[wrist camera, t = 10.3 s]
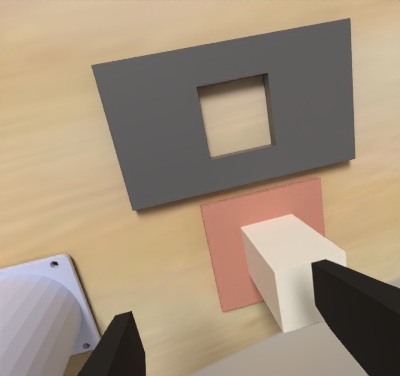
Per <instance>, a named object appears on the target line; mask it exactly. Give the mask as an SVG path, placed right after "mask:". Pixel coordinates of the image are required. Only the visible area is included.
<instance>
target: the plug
mask: <svg viewBox="0 0 400 376" xmlns="http://www.w3.org/2000/svg"><path fill="white" fill-rule="evenodd" d="M241 233H242V238H243V244H244V249H245V255H246V260H247V266H248V272H249V275H250V277H251V278H252V280H253V282H254V283H255V285H256V287H257V289H258V290H259V292H260V294H261V296H262V297H263V299H264V301H265V302H266V304H267V306H268V308H269V309H270V311H271V313H272V315H273V316H274V318H275V320H276V321H277V323H278V325H279V327H280V328H281V330H282V332H283V333H287V332H290V331H294V330H297V329H300V328H304V327H307V326H310V325H313V324H317V323H320V322H323V321H325V320H324V319H323V317H322V316H321V314H320V312H319V311H318V309H317V308H316V306H315V300H314V289H313V278H312V268H311V263H312V262H316V261H320V260H324V259H327V260H330V261H332V262H335V263H337V264H340V265H342V266H345V267H347V266H346V252H344V251H343V250H342V249H340V248H339V247H337V246H336V245H335V244H333V243H332V242H330V241H329V240H328V239H326V238H325V237H323V236H322V235H321V234H319V233H318V232H316V231H315V230H314V229H312V228H311V227H309V226H308V225H307V224H305V223H304V222H302V221H301V220H300V219H298V218H297V217H295V216H294V215H293V214H289V215H286V216H282V217H278V218H274V219H270V220H266V221H263V222H259V223H255V224H251V225H247V226H243V227H241Z"/></svg>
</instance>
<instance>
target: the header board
mask: <svg viewBox="0 0 400 376" xmlns="http://www.w3.org/2000/svg"><path fill="white" fill-rule="evenodd" d="M91 66H92V69H93V73H94V76H95V80H96V83H97V87H98V90H99V94H100V97H101V101H102V104H103V108H104V111H105V115H106V118H107V122H108V125H109V129H110V132H111V136H112V139H113V143H114V147H115V150H116V154H117V157H118V161H119V164H120V168H121V171H122V175H123V178H124V182H125V185H126V189H127V192H128V196H129V199H130V203H131V206H132V210H133V211H135V210H139V209H143V208H147V207H152V206H156V205H160V204H164V203H169V202H173V201H177V200H181V199H186V198H190V197H194V196H198V195H203V194H207V193H211V192H216V191H220V190H224V189H228V188H233V187H237V186H241V185H245V184H250V183H254V182H258V181H262V180H267V179H271V178H275V177H279V176H284V175H288V174H292V173H296V172H301V171H305V170H309V169H314V168H318V167H322V166H326V165H331V164H335V163H339V162H343V161H348V160H352V159H355V136H354V108H353V80H352V52H351V24H350V18H348V19H342V20H337V21H331V22H326V23H321V24H315V25H310V26H304V27H299V28H293V29H288V30H282V31H277V32H271V33H266V34H260V35H255V36H249V37H244V38H238V39H233V40H227V41H222V42H216V43H211V44H205V45H200V46H195V47H189V48H184V49H178V50H173V51H167V52H162V53H156V54H151V55H145V56H140V57H134V58H129V59H123V60H118V61H112V62H107V63H101V64H96V65H91ZM259 75H263V78H264V86H265V94H266V102H267V111H268V119H269V127H270V135H271V143H272V144H270V145H265V146H261V147H256V148H252V149H247V150H243V151H238V152H234V153H229V154H225V155H220V156H216V157H211V158H210V156H209V151H208V145H207V140H206V135H205V129H204V124H203V119H202V114H201V108H200V103H199V98H198V92H197V88H198V87H203V86H208V85H213V84H218V83H223V82H228V81H233V80H238V79H243V78H249V77H254V76H259Z"/></svg>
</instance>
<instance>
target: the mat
mask: <svg viewBox="0 0 400 376" xmlns="http://www.w3.org/2000/svg"><path fill="white" fill-rule="evenodd" d="M200 207H201V212H202V217H203V222H204V226H205V231H206V236H207V241H208V245H209V250H210V255H211V260H212V265H213V269H214V274H215V279H216V284H217V289H218V293H219V298H220V303H221V308H222V311H223V312H225V311H229V310H232V309H236V308H239V307H243V306H247V305H250V304H254V303H257V302H261V301H264V299H263V297H262V296H261V294H260V292H259V290H258V289H257V287H256V285H255V283H254V282H253V280H252V278H251V277H250V275H249V272H248V266H247V260H246V255H245V249H244V244H243V238H242V233H241V227H243V226H247V225H251V224H255V223H259V222H263V221H266V220H270V219H274V218H278V217H282V216H286V215H289V214H293V215H294V216H295V217H297V218H298V219H300V220H301V221H302V222H304V223H305V224H307V225H308V226H309V227H311V228H312V229H314V230H315V231H316V232H318V233H319V234H321V235H322V236H323V237H325V232H324V219H323V205H322V192H321V179H320V178H318V177H317V178H313V179H309V180H305V181H300V182H296V183H292V184H288V185H284V186H279V187H275V188H271V189H267V190H263V191H258V192H254V193H250V194H246V195H242V196H237V197H233V198H229V199H225V200H221V201H216V202H212V203H208V204H204V205H200Z"/></svg>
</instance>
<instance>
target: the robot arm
mask: <svg viewBox="0 0 400 376" xmlns="http://www.w3.org/2000/svg"><path fill="white" fill-rule="evenodd" d="M53 261H55V262H57V263H58V265H54V264H53V263H52V262H53ZM311 268H312V278H313V289H314V300H315V306H316V308H317V309H318V311H319V312H320V314H321V316H322V317H323V319H324V320H325V322H326V323H327V325H328V326H329V327H330V329H331V330H332V332H333V333H334V334H335V335H336V337H337V338H338V339H339V340H340V341H341V343H342V344H343V345H344V346H345V348H346V349H347V350H348V351H349V352H350V354H351V355H352V356H353V357H354V358H355V359H356V361H357V362H358V363H359V364H360V366H361V367H362V368H363V369H364V370H365V371H366V373H367V374H368V375H369V376H400V288H397V287H395V286H392V285H389V284H387V283H384V282H382V281H379V280H376V279H374V278H371V277H369V276H367V275H364V274H362V273H359V272H357V271H354V270H352V269H350V268H347V267H345V266H342V265H340V264H337V263H335V262H332V261H330V260H327V259H324V260H320V261H316V262H312V263H311ZM85 343H88V344H89V345H86V344H85ZM90 350H94V351H93V352H92V354H91V355H90V357H89V358H88V360H87V361H86V363H85V365H84V366H83V368H82V369H81V371H80V372H79V374H78V375H77V376H146V362H145V351H144V348H143V345H142V342H141V339H140V336H139V333H138V329H137V326H136V323H135V320H134V317H133V314H132V311H130V312H126V313H122V314H119V315H115V317H114V318H113V320H112V321H111V323H110V325H109V326H108V328H107V330H106V331H105V333H104V334H103V336H102V338H100V335H99V332H98V330H97V327H96V324H95V322H94V319H93V316H92V314H91V311H90V308H89V306H88V303H87V300H86V297H85V295H84V292H83V289H82V287H81V284H80V281H79V279H78V276H77V273H76V271H75V268H74V265H73V263H72V260H71V258H70V256H68V255H67V254H59V255H55V256H51V257H47V258H43V259H39V260H34V261H30V262H26V263H22V264H18V265H14V266H10V267H6V268H2V269H0V376H63V374H64V372H65V369H66V366H67V364H68V361H69V358H70V356H72V355H76V354H79V353H83V352H86V351H90Z"/></svg>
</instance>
